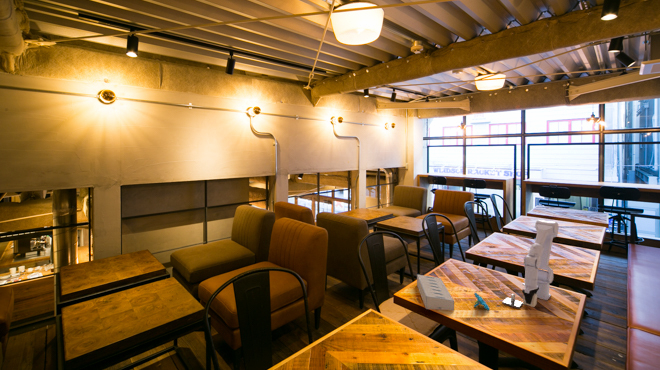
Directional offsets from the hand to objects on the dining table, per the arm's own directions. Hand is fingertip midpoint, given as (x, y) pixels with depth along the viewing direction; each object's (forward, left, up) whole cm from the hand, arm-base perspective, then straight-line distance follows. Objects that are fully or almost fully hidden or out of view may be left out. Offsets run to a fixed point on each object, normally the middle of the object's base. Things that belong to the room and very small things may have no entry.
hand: (530, 301), depth 163 cm
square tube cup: (0, 0, -1) cm, 1 cm away
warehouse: (+30, -41, -2) cm, 51 cm away
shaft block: (+7, -6, -1) cm, 9 cm away
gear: (+23, -17, -2) cm, 29 cm away
